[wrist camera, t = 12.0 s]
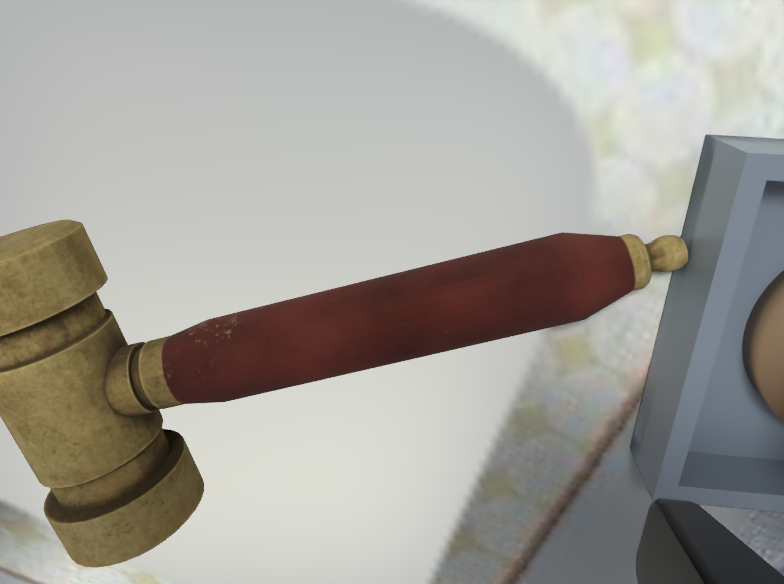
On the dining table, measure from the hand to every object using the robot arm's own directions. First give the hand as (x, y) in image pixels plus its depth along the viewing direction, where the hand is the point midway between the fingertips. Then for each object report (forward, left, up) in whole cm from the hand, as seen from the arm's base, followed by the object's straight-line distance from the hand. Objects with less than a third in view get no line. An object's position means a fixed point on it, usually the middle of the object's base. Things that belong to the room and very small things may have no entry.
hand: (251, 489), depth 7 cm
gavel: (-1, -4, -13) cm, 13 cm away
